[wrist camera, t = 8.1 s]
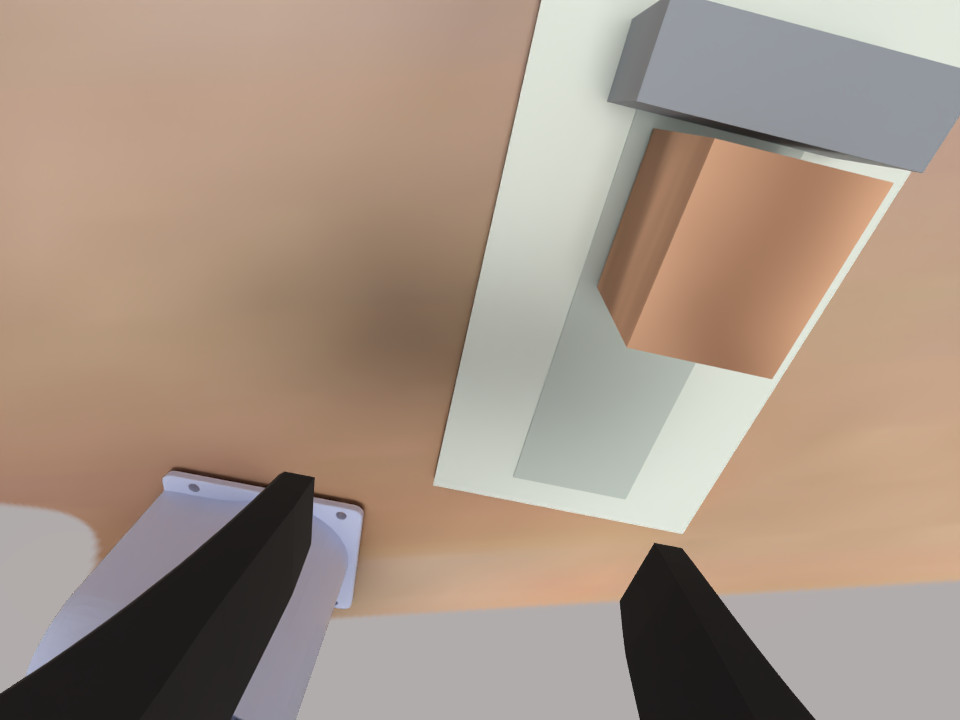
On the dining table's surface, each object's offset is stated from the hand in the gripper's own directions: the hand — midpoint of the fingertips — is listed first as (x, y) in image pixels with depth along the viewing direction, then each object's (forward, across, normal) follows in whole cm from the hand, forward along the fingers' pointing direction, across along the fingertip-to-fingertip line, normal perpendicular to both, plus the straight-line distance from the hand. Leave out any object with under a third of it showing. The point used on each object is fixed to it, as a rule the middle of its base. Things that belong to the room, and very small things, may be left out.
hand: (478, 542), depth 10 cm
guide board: (+9, -5, -3) cm, 11 cm away
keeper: (+9, -5, -6) cm, 12 cm away
